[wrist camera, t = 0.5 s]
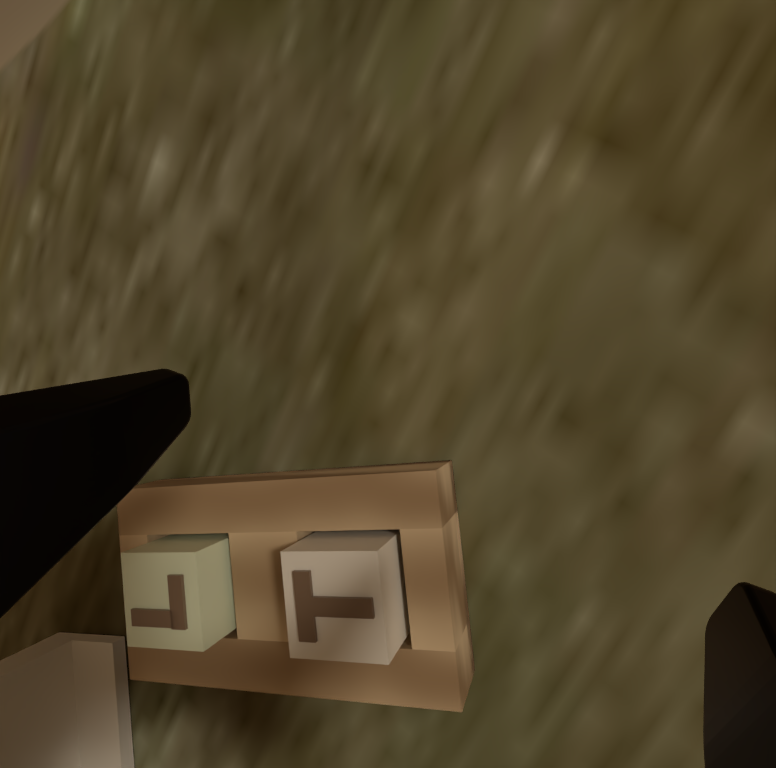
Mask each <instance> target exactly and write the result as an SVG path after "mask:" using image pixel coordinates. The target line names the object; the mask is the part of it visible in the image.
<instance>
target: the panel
mask: <svg viewBox="0 0 776 768" xmlns="http://www.w3.org/2000/svg"><path fill="white" fill-rule="evenodd" d="M117 512H118V525H119V538H120V552H124V551H127V550H130V549H132V548H135V547H138V546H141V545H143V544H146V543H149V542H152V541H154V540H157V539H160V538H163V537H165V536H168V535H171V534H209V533H228V534H229V545H230V557H231V569H232V580H233V592H234V603H235V615H236V627H237V628H236V629H234V630H233V631H232V632H230V633H229V634H227V635H226V636H225V637H223V638H222V639H221V640H219V641H218V642H216V643H215V644H214V645H212V646H211V647H210V648H208V649H207V650H205V651H204V652H199V651H185V650H170V649H156V648H142V647H128V658H129V672H130V680H139V681H149V682H159V683H170V684H180V685H190V686H200V687H211V688H221V689H231V690H241V691H251V692H262V693H272V694H282V695H292V696H302V697H313V698H323V699H333V700H343V701H354V702H364V703H374V704H384V705H394V706H405V707H415V708H425V709H435V710H445V711H456V712H462V710H463V707H464V704H465V701H466V697H467V694H468V691H469V688H470V684H471V681H472V678H473V675H474V671H475V666H474V657H473V648H472V638H471V629H470V620H469V611H468V602H467V593H466V584H465V575H464V566H463V557H462V547H461V538H460V529H459V520H458V511H457V502H456V493H455V484H454V475H453V466H452V460H447V461H432V462H417V463H402V464H387V465H372V466H357V467H342V468H328V469H313V470H298V471H283V472H268V473H253V474H238V475H223V476H208V477H193V478H178V479H163V480H158V481H153V482H149V483H144V484H140V485H136V486H135V487H134V488H133V489H132V490H131V491H130V492H129V493H128V494H127V495H126V496H125V497H124V498H123V499H122V500H121V501H120V502H119V503H118V504H117ZM389 529H400V537H401V547H402V556H403V566H404V576H405V585H406V595H407V604H408V614H409V624H410V632H409V634H408V635H407V637H406V639H405V640H404V642H403V643H402V645H401V647H400V648H399V650H398V651H397V653H396V654H395V656H394V658H393V659H392V661H391V662H390V664H389V665H383V664H369V663H355V662H341V661H327V660H312V659H298V658H290V652H289V641H288V630H287V619H286V609H285V598H284V587H283V576H282V565H281V554H280V551H282V550H284V549H286V548H288V547H289V546H291V545H293V544H295V543H296V542H298V541H300V540H302V539H303V538H305V537H307V536H309V535H310V534H312V533H314V532H316V531H344V530H389Z"/></svg>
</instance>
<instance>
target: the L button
mask: <svg viewBox="0 0 776 768" xmlns="http://www.w3.org/2000/svg"><path fill="white" fill-rule="evenodd" d="M121 565H122V579H123V592H124V605H125V619H126V632H127V645H128V647H142V648H156V649H170V650H185V651H199V652H204V651H205V650H207V649H208V648H210V647H211V646H212V645H214V644H215V643H216V642H218V641H219V640H221V639H222V638H223V637H225V636H226V635H227V634H229V633H230V632H232V631H233V630H234V629H236V628H237V627H236V615H235V603H234V592H233V580H232V569H231V557H230V545H229V534H228V533H209V534H171V535H168V536H165V537H163V538H160V539H157V540H154V541H152V542H149V543H146V544H143V545H141V546H138V547H135V548H132V549H130V550H127V551H124V552H121Z"/></svg>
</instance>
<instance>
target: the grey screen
mask: <svg viewBox="0 0 776 768" xmlns="http://www.w3.org/2000/svg"><path fill="white" fill-rule="evenodd" d="M0 768H134V756H133V742H132V729H131V716H130V702H129V689H128V675H127V662H126V649H125V636H111V635H95V634H79V633H63V632H59V633H56V634H54V635H52V636H50V637H48V638H46V639H44V640H42V641H40V642H38V643H36V644H34V645H31V646H29V647H27V648H25V649H23V650H21V651H19V652H17V653H15V654H13V655H11V656H8V657H6V658H4V659H2V660H0Z"/></svg>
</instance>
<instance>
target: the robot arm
mask: <svg viewBox="0 0 776 768" xmlns="http://www.w3.org/2000/svg"><path fill="white" fill-rule="evenodd" d="M190 417H191V405H190V392H189V382H188V380H187V378H186V377H185V376H184V375H182V374H180V373H177V372H174V371H172V370H169V369H158V370H152V371H146V372H140V373H134V374H128V375H122V376H116V377H110V378H104V379H98V380H92V381H86V382H80V383H73V384H67V385H61V386H55V387H49V388H43V389H37V390H31V391H25V392H19V393H13V394H7V395H1V396H0V618H1V617H2V616H3V615H4V614H5V613H6V612H7V611H8V610H9V609H10V608H11V607H12V606H13V605H14V604H15V603H16V602H17V601H18V600H19V599H20V598H22V597H23V596H24V595H25V594H26V593H27V592H28V591H29V590H30V589H31V588H32V587H33V586H34V585H35V584H36V583H37V582H38V581H39V580H40V579H41V578H42V577H43V576H44V575H45V574H46V573H47V572H48V571H49V570H50V569H51V568H52V567H53V566H54V565H55V564H56V563H58V562H59V561H60V560H61V559H62V558H63V557H64V556H65V555H66V554H67V553H68V552H69V551H70V550H71V549H72V548H73V547H74V546H75V545H76V544H77V543H78V542H79V541H80V540H81V539H82V538H83V537H84V536H85V535H86V534H87V533H88V532H89V531H90V530H91V529H92V528H94V527H95V526H96V525H97V524H98V523H99V522H100V521H101V520H102V519H103V518H104V517H105V516H106V515H107V514H108V513H109V512H110V511H111V510H112V509H113V508H114V507H115V506H116V505H117V504H118V503H119V502H120V501H121V500H122V499H123V498H124V497H125V496H126V495H127V494H128V493H129V492H130V491H131V490H132V489H133V488H134V487H135V486H136V485H137V484H138V482H139V481H140V480H141V479H142V478H143V477H144V476H145V474H146V473H147V472H148V471H149V470H150V469H151V467H152V466H153V465H154V464H155V463H156V462H157V460H158V459H159V458H160V457H161V456H162V454H163V453H164V452H165V451H166V450H167V449H168V447H169V446H170V445H171V444H172V443H173V441H174V440H175V439H176V438H177V437H178V436H179V434H180V433H181V432H182V431H183V430H184V429H185V427H186V426H187V424H188V422H189V420H190ZM703 733H704V759H705V768H776V594H775V593H774V592H771V591H769V590H766V589H763V588H761V587H758V586H755V585H752V584H750V583H746V582H741V583H738V584H736V585H735V586H734V587H733V588H732V590H731V591H730V592H729V593H728V595H727V596H726V597H725V599H724V600H723V601H722V602H721V604H720V605H719V606H718V608H717V609H716V610H715V611H714V613H713V614H712V615H711V617H710V619H709V621H708V623H707V627H706V632H705V674H704V725H703Z"/></svg>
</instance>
